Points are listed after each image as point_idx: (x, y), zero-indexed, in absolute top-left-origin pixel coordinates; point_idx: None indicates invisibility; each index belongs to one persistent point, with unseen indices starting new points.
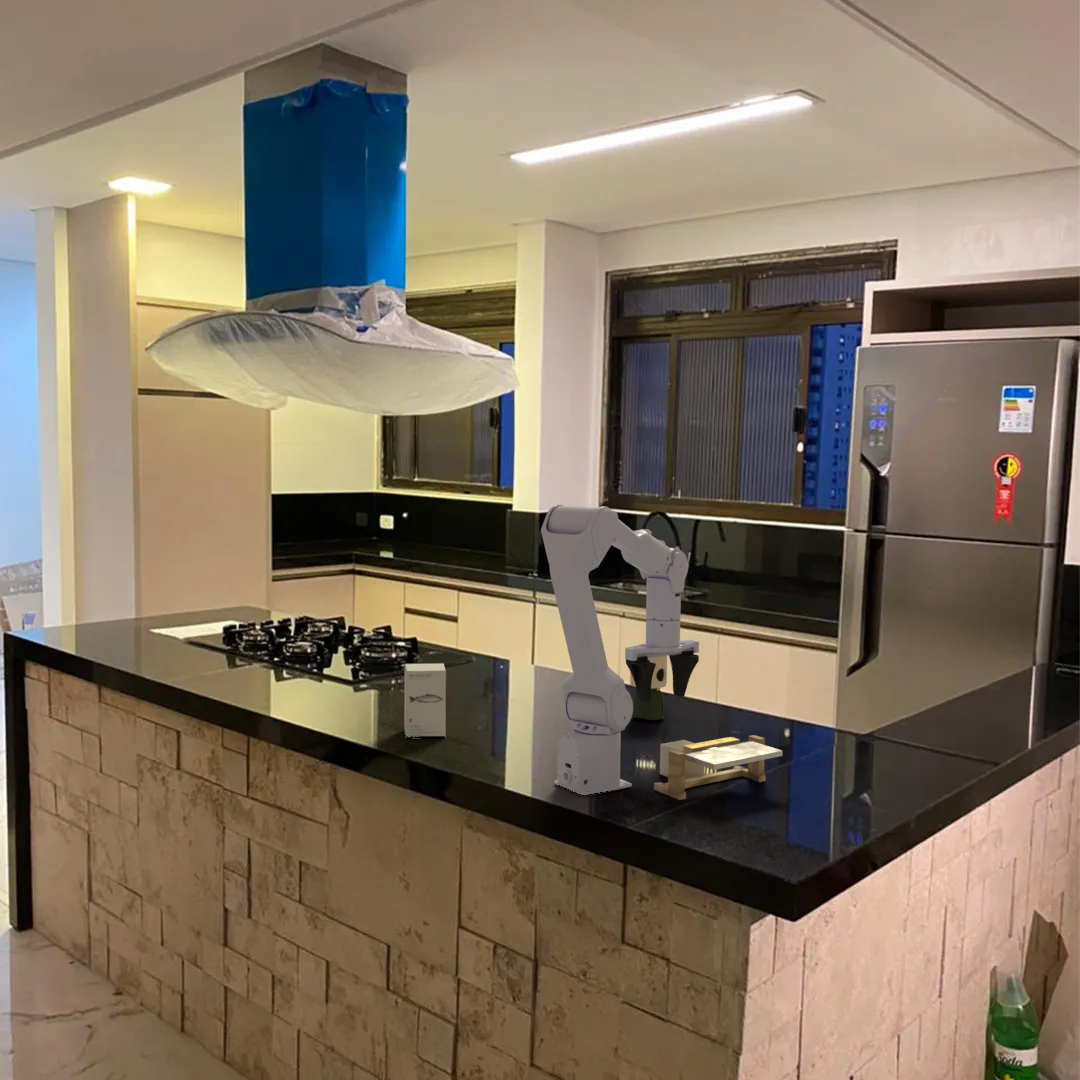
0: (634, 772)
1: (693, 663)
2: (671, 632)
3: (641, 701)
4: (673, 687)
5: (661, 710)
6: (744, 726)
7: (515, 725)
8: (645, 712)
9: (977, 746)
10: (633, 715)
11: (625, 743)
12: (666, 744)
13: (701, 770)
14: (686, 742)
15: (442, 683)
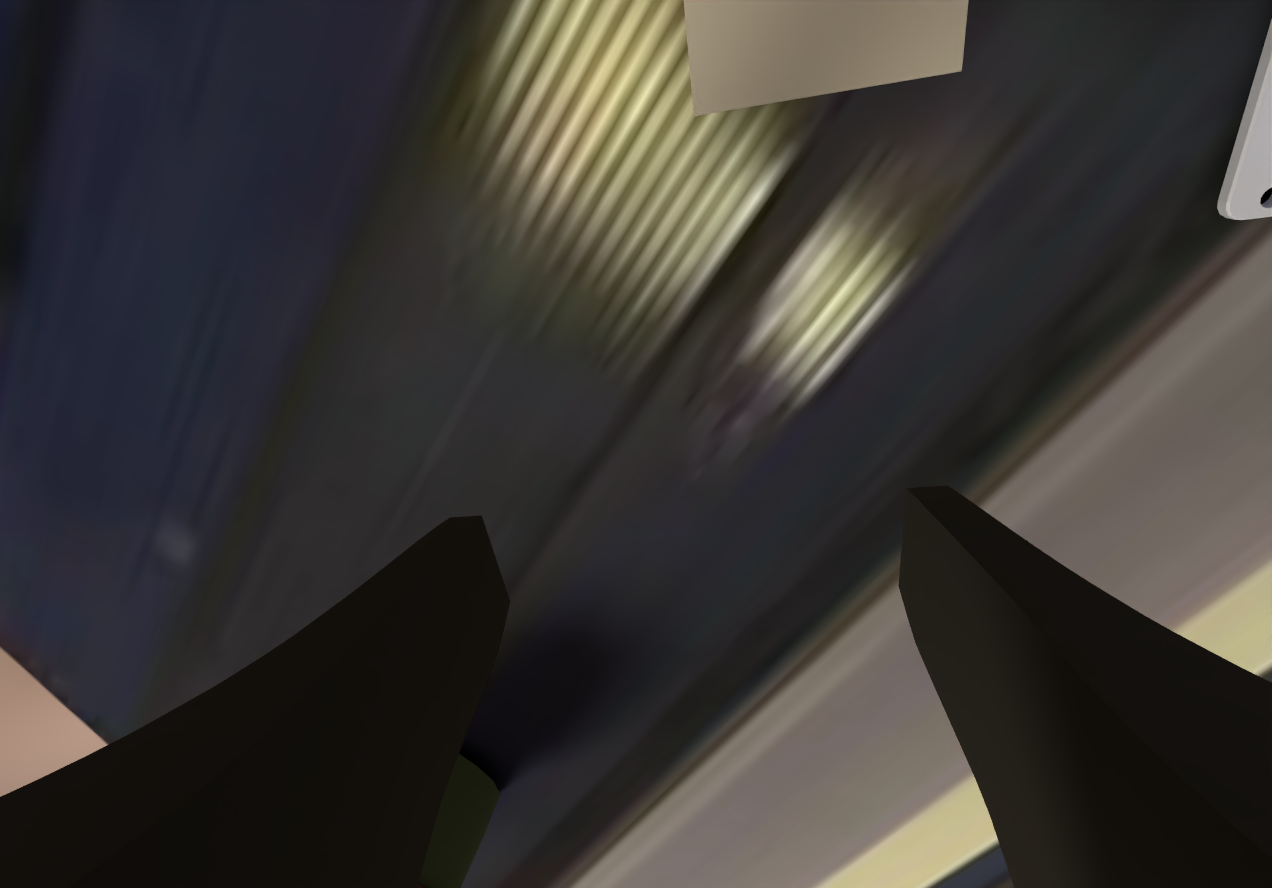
0: (997, 185)
1: (45, 816)
2: None
3: (458, 839)
4: (489, 661)
5: None
6: (119, 586)
7: (903, 879)
8: (462, 786)
9: None
10: (497, 797)
11: (693, 602)
12: (928, 30)
13: None
14: (725, 20)
15: None
